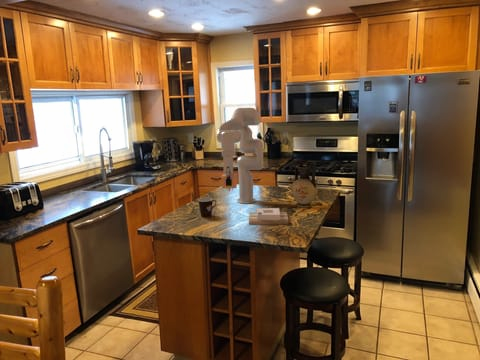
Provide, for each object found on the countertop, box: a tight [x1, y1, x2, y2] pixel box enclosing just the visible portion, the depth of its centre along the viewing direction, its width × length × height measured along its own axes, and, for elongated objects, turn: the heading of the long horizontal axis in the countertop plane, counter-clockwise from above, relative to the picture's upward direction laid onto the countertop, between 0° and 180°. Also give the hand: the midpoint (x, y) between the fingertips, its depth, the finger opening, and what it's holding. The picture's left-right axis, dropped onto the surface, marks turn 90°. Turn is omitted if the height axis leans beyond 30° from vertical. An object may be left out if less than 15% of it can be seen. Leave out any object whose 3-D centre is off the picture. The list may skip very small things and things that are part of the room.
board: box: [248, 211, 289, 225], centre depth 224 cm, size 16×22×2 cm
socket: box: [256, 207, 280, 220], centre depth 224 cm, size 13×13×4 cm
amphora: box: [290, 158, 319, 208], centre depth 250 cm, size 18×17×30 cm
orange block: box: [221, 173, 238, 192], centre depth 223 cm, size 7×8×9 cm
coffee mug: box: [197, 197, 217, 218], centre depth 235 cm, size 12×9×10 cm
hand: (229, 184), depth 223 cm, fingers closed on orange block, 6 cm apart
